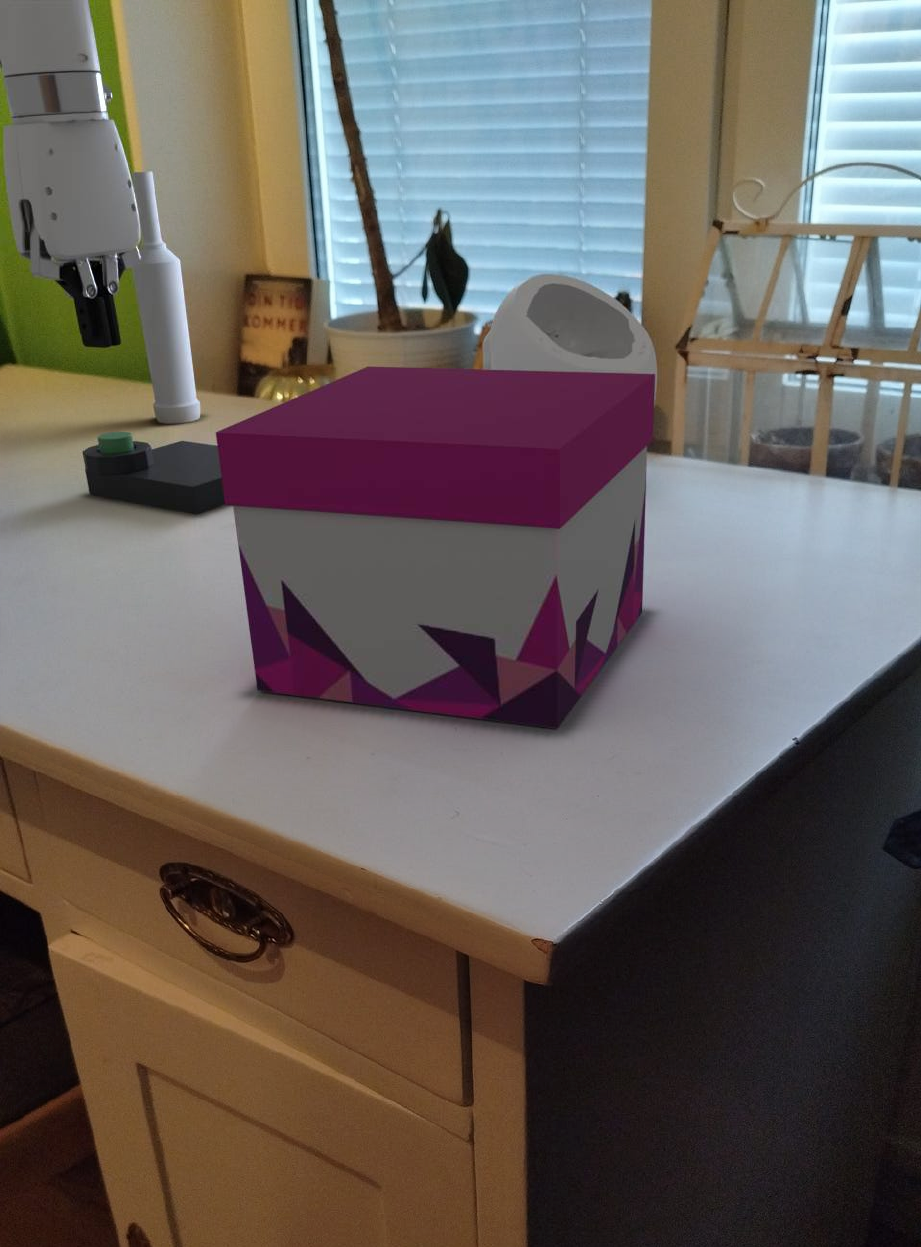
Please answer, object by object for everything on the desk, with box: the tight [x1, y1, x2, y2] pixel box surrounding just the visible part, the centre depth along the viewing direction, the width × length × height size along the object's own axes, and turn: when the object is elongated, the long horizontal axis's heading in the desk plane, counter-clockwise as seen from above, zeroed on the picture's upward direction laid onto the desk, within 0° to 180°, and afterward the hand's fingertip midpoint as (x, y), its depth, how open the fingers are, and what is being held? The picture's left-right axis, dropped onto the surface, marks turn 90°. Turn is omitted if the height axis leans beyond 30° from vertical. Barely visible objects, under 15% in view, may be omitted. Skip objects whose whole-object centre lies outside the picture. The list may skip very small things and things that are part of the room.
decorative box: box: [215, 365, 655, 729], centre depth 75 cm, size 19×19×15 cm
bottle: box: [131, 170, 201, 425], centre depth 137 cm, size 5×5×25 cm
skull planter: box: [481, 273, 658, 406], centre depth 112 cm, size 14×20×19 cm
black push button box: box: [82, 440, 226, 515], centre depth 115 cm, size 14×13×4 cm
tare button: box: [97, 431, 134, 454], centre depth 113 cm, size 3×3×2 cm
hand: (102, 345), depth 109 cm, fingers closed
